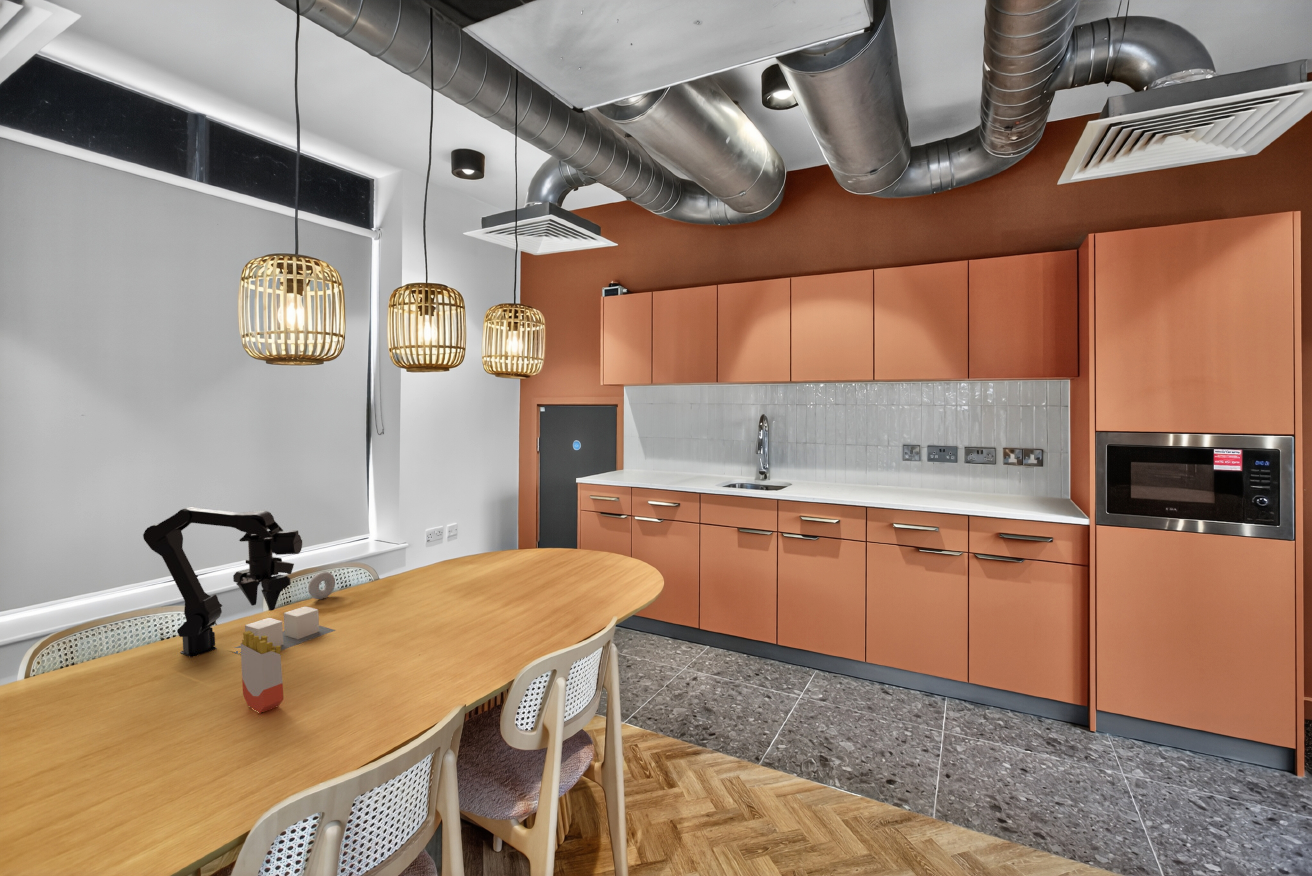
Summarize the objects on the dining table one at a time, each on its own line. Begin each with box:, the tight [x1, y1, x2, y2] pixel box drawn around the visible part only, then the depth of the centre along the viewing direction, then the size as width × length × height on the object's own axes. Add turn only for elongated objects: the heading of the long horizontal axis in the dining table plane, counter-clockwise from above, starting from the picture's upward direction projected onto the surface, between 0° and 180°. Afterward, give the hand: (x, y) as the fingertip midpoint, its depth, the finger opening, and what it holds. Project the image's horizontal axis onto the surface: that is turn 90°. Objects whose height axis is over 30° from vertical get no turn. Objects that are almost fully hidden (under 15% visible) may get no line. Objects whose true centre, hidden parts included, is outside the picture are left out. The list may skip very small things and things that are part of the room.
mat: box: [234, 624, 336, 655], centre depth 178 cm, size 24×14×1 cm, turn 153°
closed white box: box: [283, 606, 320, 639], centre depth 182 cm, size 7×7×7 cm
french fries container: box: [240, 631, 284, 714], centre depth 139 cm, size 5×11×18 cm, turn 56°
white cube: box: [244, 617, 284, 647], centre depth 173 cm, size 7×7×7 cm
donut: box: [307, 571, 336, 600], centre depth 215 cm, size 10×4×10 cm, turn 157°
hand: (262, 607), depth 172 cm, fingers open, 9 cm apart
